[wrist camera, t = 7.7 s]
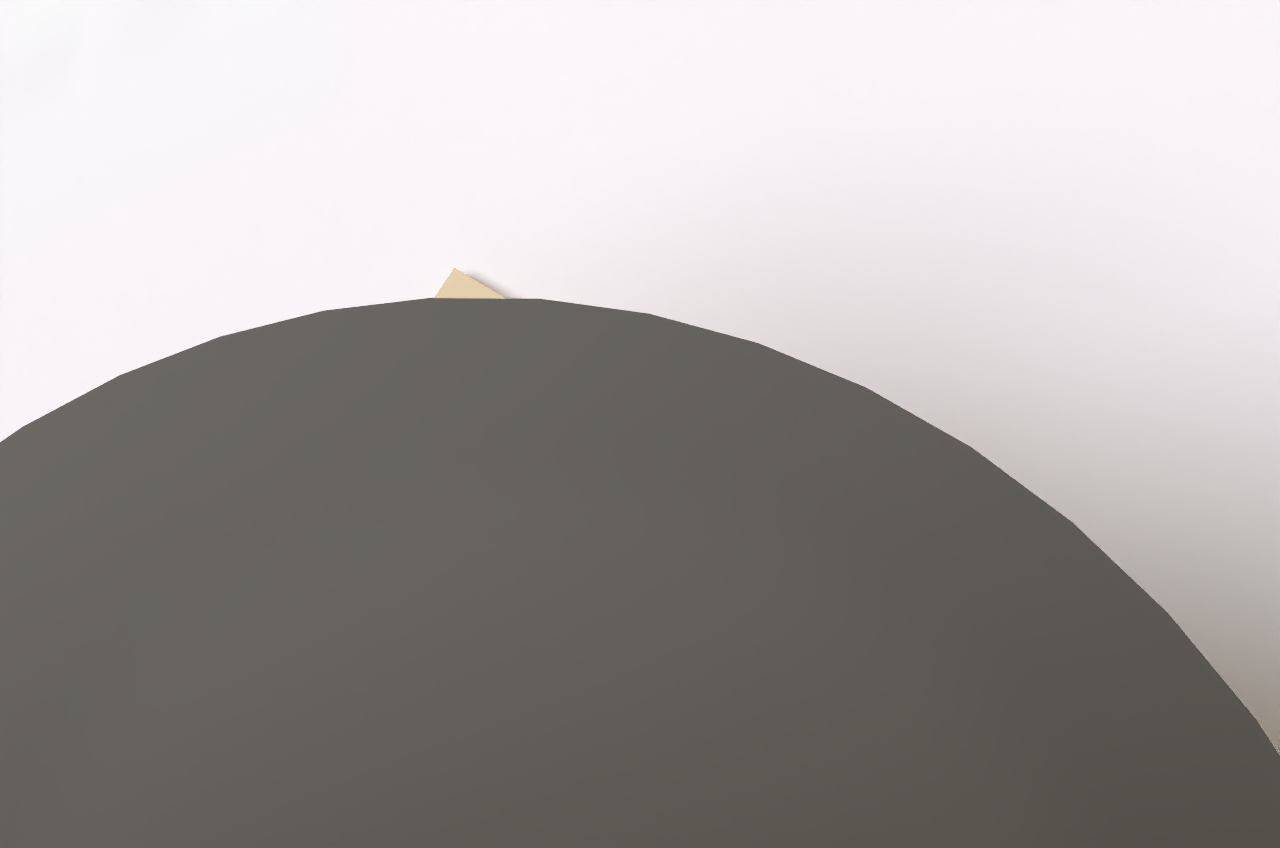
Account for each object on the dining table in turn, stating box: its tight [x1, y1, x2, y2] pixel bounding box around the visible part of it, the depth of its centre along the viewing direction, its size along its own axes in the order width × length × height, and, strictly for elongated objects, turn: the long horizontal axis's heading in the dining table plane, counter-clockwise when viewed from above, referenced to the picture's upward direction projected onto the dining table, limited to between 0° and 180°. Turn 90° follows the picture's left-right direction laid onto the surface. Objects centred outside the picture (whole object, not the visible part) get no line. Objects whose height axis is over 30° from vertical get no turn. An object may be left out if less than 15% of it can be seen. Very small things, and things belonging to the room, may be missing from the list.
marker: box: [0, 298, 1280, 848], centre depth 8 cm, size 4×4×12 cm
